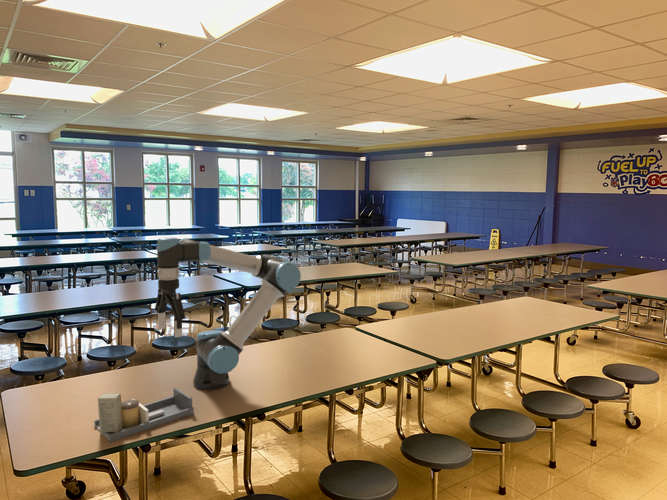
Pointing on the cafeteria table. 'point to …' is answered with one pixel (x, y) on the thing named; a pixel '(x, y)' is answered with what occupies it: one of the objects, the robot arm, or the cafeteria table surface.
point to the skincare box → (110, 412)
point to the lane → (172, 410)
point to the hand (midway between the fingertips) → (170, 332)
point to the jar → (130, 413)
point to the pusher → (147, 413)
